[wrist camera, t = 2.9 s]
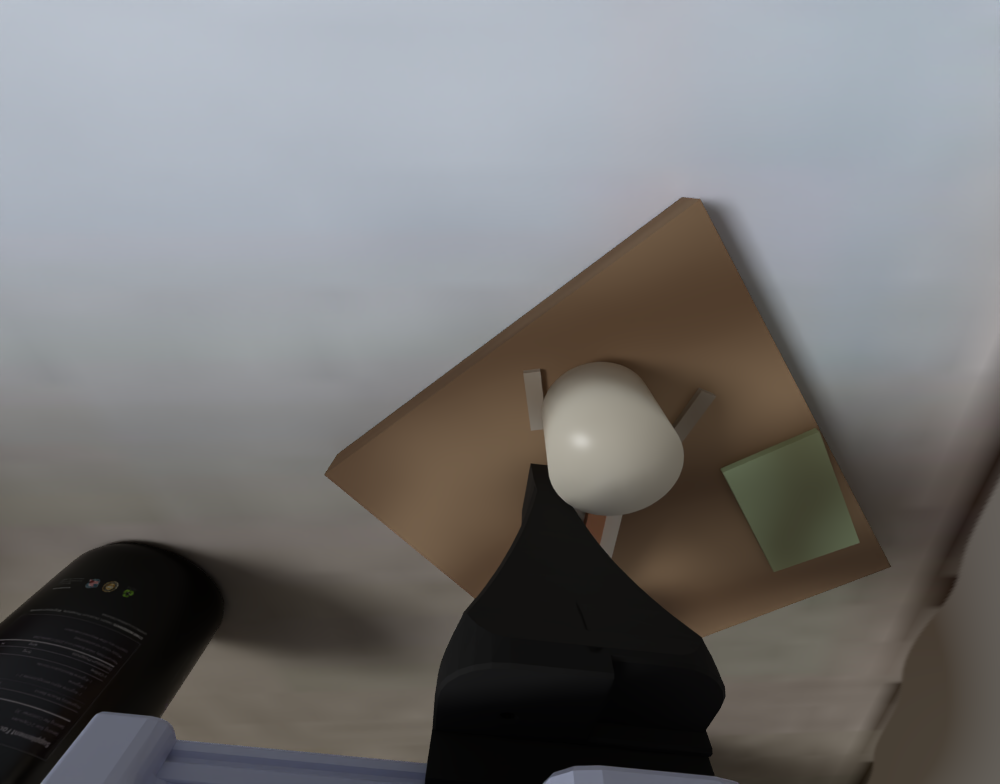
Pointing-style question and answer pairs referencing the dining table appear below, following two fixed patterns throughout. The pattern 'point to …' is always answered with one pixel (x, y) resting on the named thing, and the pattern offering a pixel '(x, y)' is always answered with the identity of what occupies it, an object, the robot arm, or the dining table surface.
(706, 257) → the brown wooden board
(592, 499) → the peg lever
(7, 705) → the supplement bottle
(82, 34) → the dining table surface
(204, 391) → the dining table surface
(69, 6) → the dining table surface
